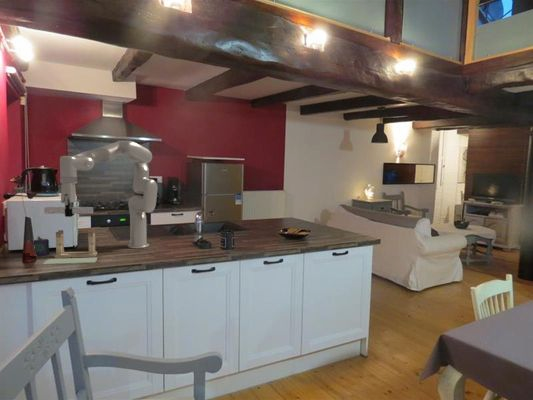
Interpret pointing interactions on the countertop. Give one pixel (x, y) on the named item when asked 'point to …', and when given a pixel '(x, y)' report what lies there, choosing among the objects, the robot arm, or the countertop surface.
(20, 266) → the countertop surface
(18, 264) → the countertop surface
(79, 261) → the mat
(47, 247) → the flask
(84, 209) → the rail
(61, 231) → the rack
